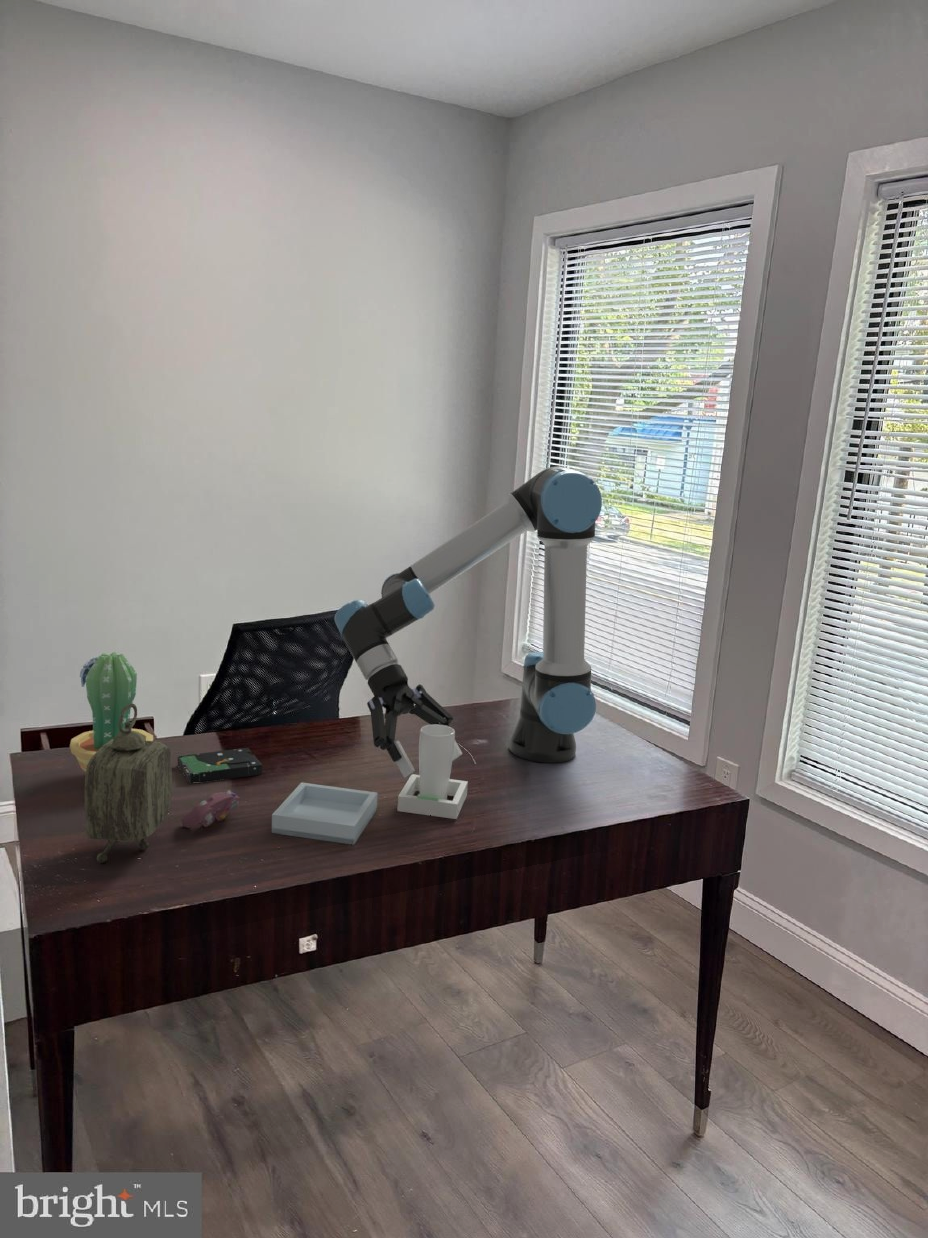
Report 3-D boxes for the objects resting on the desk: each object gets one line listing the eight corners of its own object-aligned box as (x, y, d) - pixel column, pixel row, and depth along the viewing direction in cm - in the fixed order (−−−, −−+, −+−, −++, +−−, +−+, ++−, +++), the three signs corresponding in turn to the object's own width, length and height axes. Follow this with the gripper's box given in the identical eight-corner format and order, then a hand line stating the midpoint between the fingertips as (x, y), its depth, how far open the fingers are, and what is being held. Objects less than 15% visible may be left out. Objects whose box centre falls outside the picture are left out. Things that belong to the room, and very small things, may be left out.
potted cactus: (143, 759, 191) (141, 642, 185) (164, 787, 178) (163, 662, 173) (62, 771, 182) (59, 649, 177) (79, 801, 170) (75, 670, 164)
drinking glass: (410, 798, 181) (414, 725, 178) (441, 794, 184) (446, 722, 180) (423, 812, 175) (428, 737, 172) (456, 808, 178) (461, 734, 174)
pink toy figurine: (193, 841, 161) (206, 812, 158) (177, 823, 162) (190, 795, 159) (235, 822, 169) (248, 794, 166) (219, 805, 171) (232, 778, 168)
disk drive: (247, 759, 196) (176, 768, 189) (247, 747, 196) (176, 755, 188) (263, 777, 188) (189, 787, 180) (263, 764, 187) (189, 773, 180)
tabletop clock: (122, 828, 160) (119, 690, 155) (173, 832, 160) (173, 694, 155) (86, 868, 146) (82, 718, 141) (142, 872, 146) (141, 722, 141)
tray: (376, 810, 174) (377, 792, 174) (353, 844, 160) (354, 826, 159) (300, 799, 177) (301, 782, 176) (271, 833, 162) (272, 814, 162)
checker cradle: (466, 795, 184) (468, 778, 183) (456, 819, 173) (457, 801, 172) (411, 788, 186) (412, 771, 185) (397, 811, 175) (398, 793, 174)
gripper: (415, 671, 195) (464, 759, 189) (325, 693, 176) (377, 791, 170) (435, 652, 190) (486, 741, 184) (346, 673, 171) (399, 773, 165)
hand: (434, 765), depth 177 cm, fingers open, 13 cm apart
